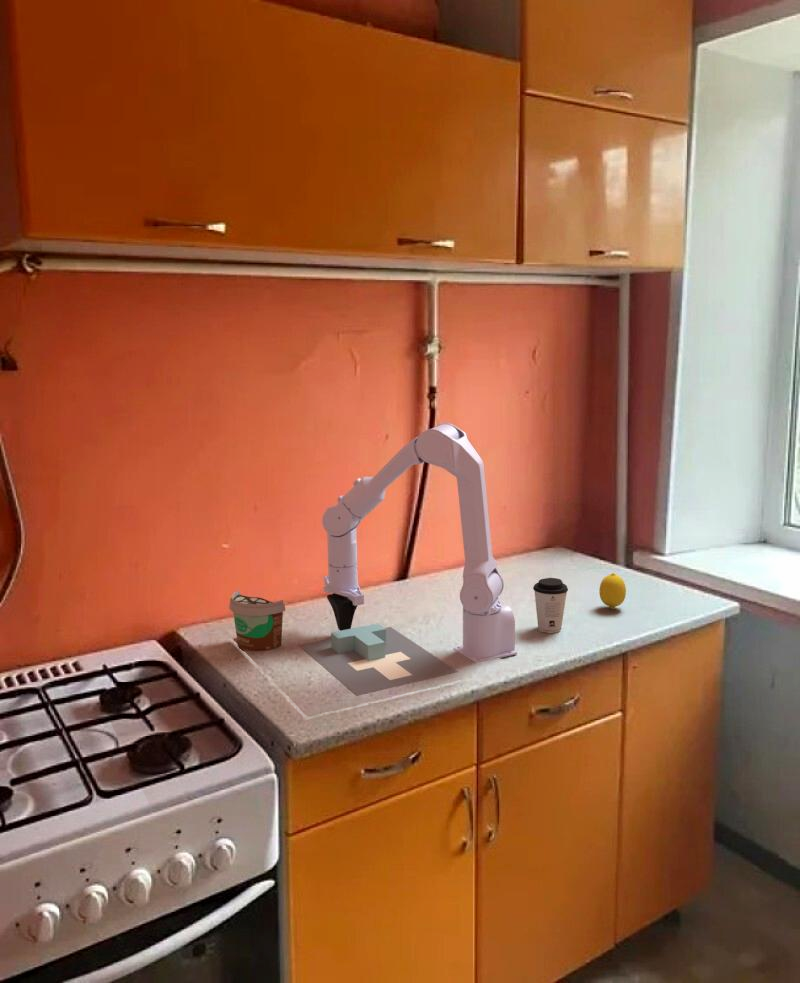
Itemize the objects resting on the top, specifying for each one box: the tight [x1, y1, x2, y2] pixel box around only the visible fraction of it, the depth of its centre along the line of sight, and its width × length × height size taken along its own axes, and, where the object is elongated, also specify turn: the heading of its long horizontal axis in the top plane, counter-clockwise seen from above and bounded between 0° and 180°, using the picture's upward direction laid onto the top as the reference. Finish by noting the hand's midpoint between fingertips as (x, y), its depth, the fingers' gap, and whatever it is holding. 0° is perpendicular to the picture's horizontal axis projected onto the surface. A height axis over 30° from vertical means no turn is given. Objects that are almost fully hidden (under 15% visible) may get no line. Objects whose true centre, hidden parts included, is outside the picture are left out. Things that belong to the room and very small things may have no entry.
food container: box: [228, 590, 286, 652], centre depth 170 cm, size 12×6×10 cm, turn 56°
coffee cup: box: [532, 577, 569, 634], centre depth 179 cm, size 7×7×10 cm
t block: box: [330, 623, 386, 661], centre depth 168 cm, size 10×10×3 cm
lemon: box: [599, 572, 627, 610], centre depth 190 cm, size 6×6×8 cm
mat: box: [298, 626, 458, 696], centre depth 165 cm, size 20×26×1 cm
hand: (344, 629), depth 176 cm, fingers closed
